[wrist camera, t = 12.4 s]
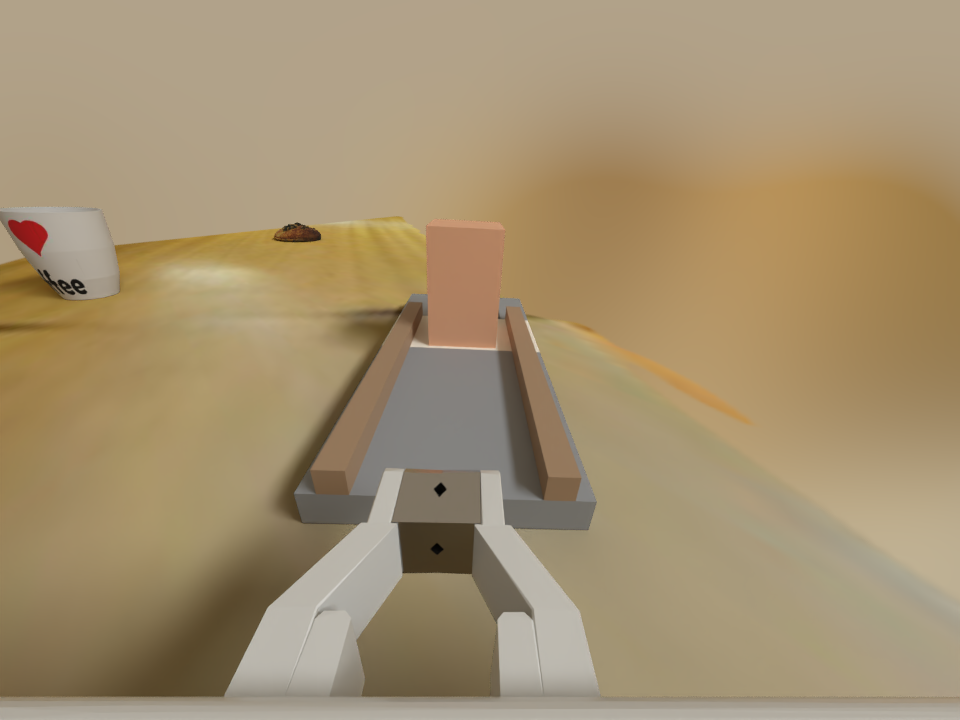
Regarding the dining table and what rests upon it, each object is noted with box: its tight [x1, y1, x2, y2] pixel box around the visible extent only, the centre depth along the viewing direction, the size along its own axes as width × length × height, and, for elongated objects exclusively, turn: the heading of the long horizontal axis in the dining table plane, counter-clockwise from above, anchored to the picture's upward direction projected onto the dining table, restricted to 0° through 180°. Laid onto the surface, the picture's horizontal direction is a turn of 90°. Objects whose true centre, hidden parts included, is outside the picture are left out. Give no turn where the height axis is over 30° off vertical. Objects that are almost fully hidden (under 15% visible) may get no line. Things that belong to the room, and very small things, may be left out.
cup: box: [0, 207, 120, 300], centre depth 41 cm, size 8×8×10 cm
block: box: [426, 219, 505, 348], centre depth 31 cm, size 6×6×10 cm
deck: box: [294, 294, 597, 530], centre depth 30 cm, size 14×32×4 cm, turn 1°
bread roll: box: [274, 223, 321, 242], centre depth 88 cm, size 11×11×5 cm
